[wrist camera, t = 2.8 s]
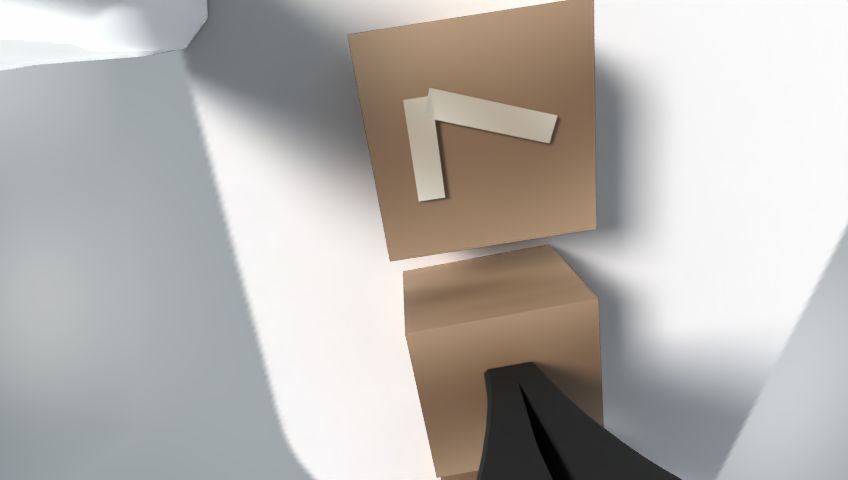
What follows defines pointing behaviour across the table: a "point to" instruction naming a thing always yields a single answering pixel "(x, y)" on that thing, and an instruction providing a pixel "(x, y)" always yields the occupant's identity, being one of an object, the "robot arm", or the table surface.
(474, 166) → the digit block seven
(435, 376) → the blank block
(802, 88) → the table surface
